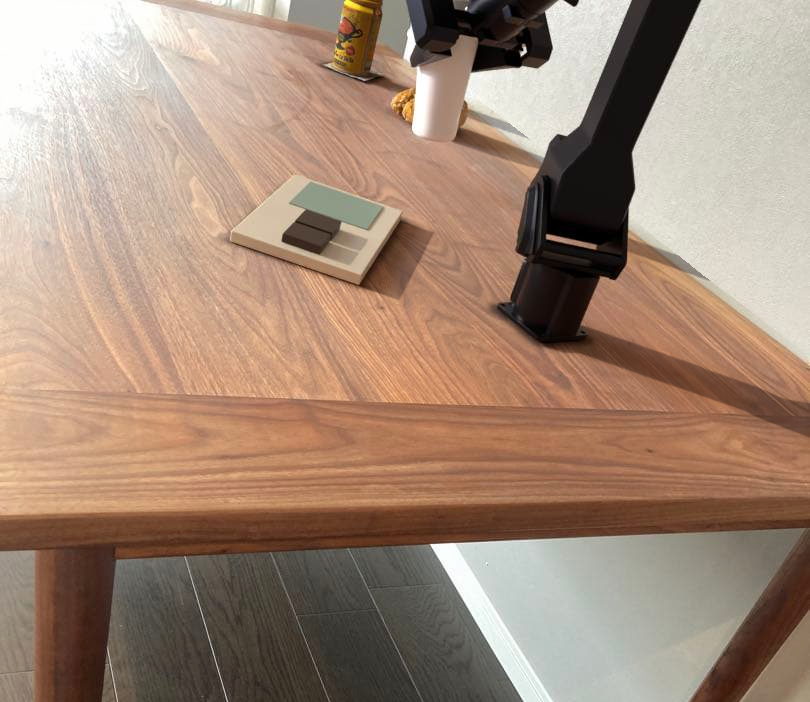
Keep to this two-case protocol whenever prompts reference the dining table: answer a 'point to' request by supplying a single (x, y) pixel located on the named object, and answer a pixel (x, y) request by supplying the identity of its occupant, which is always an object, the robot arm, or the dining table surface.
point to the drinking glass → (443, 90)
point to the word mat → (319, 228)
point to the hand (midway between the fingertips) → (434, 66)
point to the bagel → (406, 105)
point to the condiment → (357, 38)
